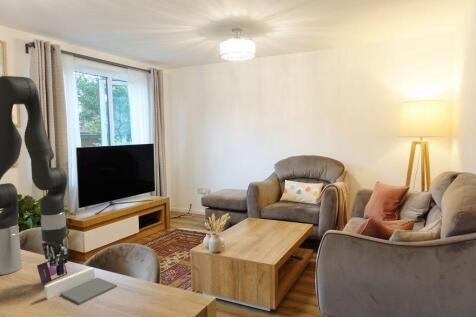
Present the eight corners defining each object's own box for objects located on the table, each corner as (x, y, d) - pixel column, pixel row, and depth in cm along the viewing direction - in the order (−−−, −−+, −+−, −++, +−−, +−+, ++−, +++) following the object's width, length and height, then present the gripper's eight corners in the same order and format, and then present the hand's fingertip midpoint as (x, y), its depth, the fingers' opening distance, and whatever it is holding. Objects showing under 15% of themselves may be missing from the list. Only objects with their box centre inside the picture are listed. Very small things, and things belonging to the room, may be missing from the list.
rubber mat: (60, 295, 105) (60, 293, 105) (97, 279, 115) (97, 277, 115) (79, 304, 98) (79, 302, 98) (116, 286, 109) (116, 285, 109)
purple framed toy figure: (38, 265, 108) (63, 255, 116) (29, 267, 110) (55, 257, 118) (43, 284, 107) (68, 273, 115) (35, 286, 110) (60, 275, 118)
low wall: (45, 298, 103) (44, 285, 103) (92, 278, 116) (91, 267, 116) (47, 299, 102) (46, 287, 102) (94, 279, 115) (94, 268, 115)
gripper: (32, 225, 113) (35, 272, 115) (53, 232, 106) (57, 282, 107) (53, 219, 120) (57, 264, 121) (75, 226, 112) (78, 274, 114)
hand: (57, 273), depth 114 cm, fingers closed on purple framed toy figure, 4 cm apart
